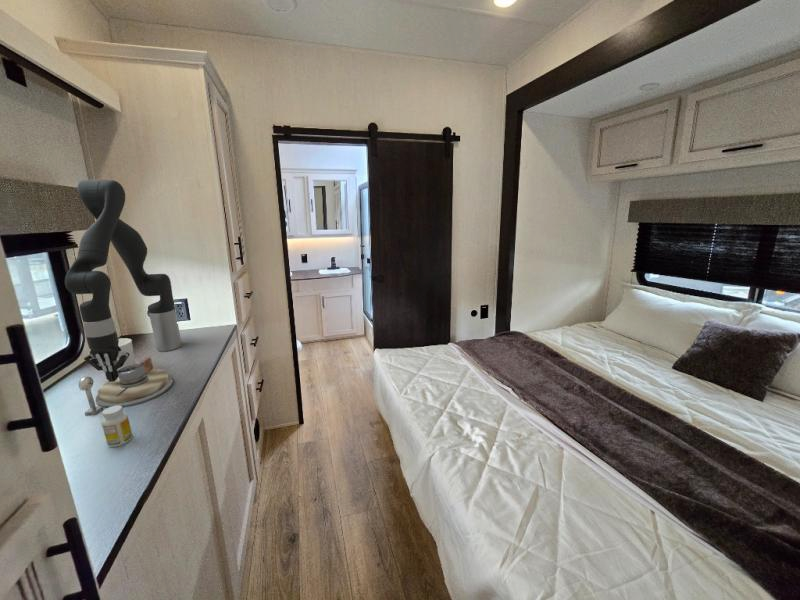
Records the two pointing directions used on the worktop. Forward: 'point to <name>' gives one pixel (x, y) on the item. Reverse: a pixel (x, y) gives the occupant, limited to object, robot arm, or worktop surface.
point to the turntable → (116, 394)
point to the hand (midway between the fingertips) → (113, 380)
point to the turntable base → (137, 401)
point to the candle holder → (126, 351)
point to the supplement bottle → (116, 426)
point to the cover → (132, 376)
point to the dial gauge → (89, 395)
